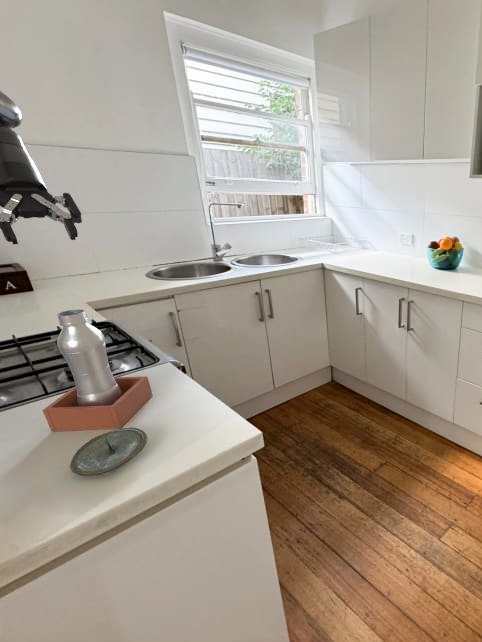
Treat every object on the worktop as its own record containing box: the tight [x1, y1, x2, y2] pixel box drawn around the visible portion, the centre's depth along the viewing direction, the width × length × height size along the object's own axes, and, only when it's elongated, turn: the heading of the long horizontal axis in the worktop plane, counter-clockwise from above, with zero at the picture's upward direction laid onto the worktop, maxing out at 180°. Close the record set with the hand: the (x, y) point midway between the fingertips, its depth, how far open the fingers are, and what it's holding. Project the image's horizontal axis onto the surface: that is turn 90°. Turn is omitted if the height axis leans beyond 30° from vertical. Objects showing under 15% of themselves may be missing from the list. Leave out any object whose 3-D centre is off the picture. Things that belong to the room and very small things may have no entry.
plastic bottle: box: [56, 308, 122, 407], centre depth 70 cm, size 6×7×20 cm
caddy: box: [42, 375, 154, 432], centre depth 74 cm, size 12×12×5 cm
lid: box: [69, 427, 148, 477], centre depth 62 cm, size 11×10×5 cm
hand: (45, 239), depth 74 cm, fingers open, 8 cm apart
